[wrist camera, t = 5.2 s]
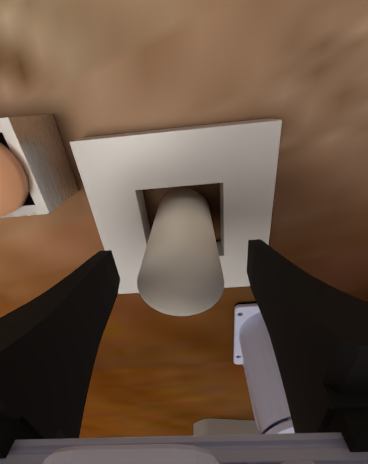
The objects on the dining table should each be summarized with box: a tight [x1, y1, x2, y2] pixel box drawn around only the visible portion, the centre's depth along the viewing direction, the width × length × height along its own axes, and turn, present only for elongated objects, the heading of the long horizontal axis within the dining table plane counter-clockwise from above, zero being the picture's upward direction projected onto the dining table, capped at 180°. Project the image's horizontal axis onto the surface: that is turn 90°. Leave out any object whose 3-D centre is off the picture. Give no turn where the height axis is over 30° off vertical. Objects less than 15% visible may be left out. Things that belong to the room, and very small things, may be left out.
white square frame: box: [70, 118, 282, 294], centre depth 16 cm, size 12×12×2 cm
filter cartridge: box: [137, 188, 224, 316], centre depth 14 cm, size 4×4×8 cm
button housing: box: [0, 114, 79, 218], centre depth 14 cm, size 5×5×4 cm
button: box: [0, 139, 29, 217], centre depth 13 cm, size 4×4×4 cm
